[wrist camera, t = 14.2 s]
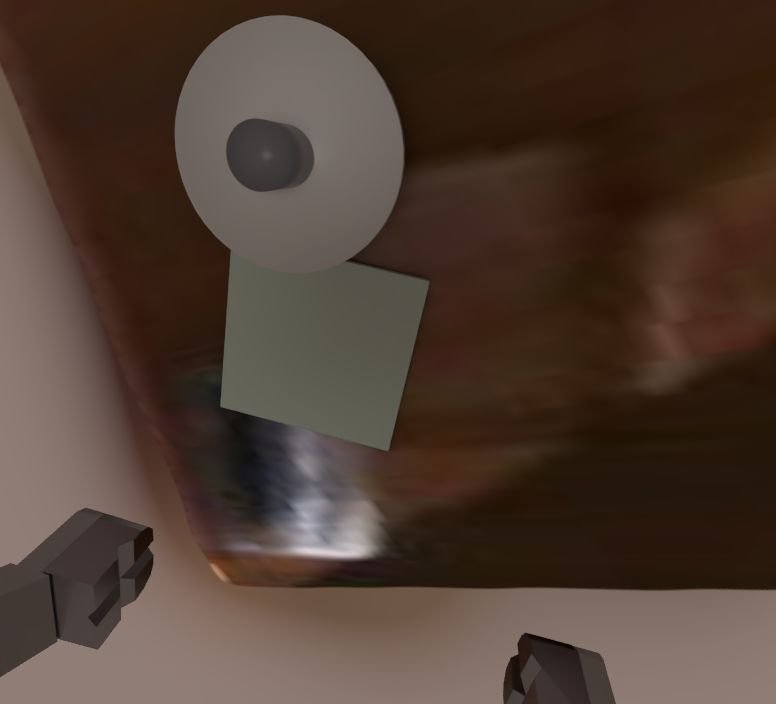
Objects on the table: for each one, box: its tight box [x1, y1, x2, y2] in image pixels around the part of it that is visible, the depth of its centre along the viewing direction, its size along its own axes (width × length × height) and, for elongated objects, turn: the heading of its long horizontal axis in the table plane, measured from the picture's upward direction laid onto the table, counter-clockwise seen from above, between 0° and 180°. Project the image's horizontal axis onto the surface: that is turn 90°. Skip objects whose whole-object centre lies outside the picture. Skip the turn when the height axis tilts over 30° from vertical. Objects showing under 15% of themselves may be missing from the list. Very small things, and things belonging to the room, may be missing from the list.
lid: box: [175, 15, 405, 273], centre depth 27 cm, size 14×14×5 cm
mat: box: [220, 250, 430, 451], centre depth 40 cm, size 16×16×1 cm
